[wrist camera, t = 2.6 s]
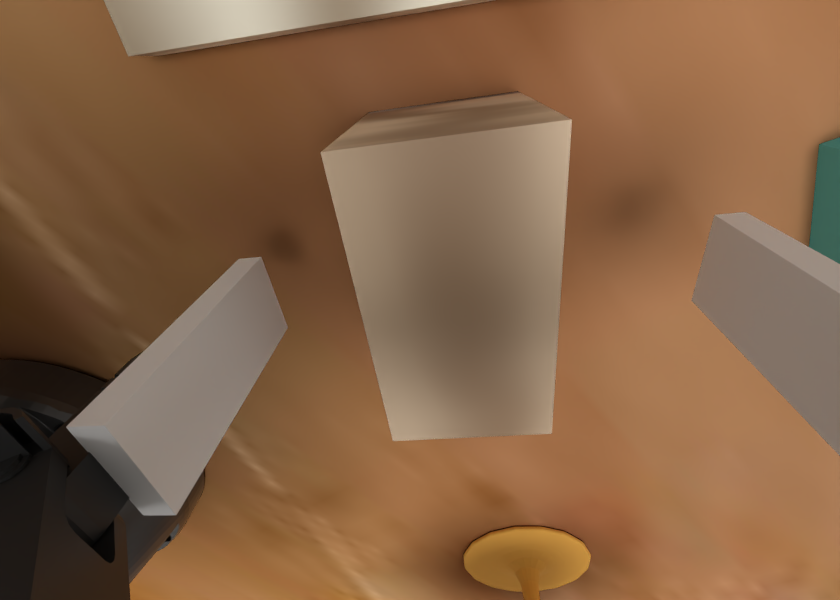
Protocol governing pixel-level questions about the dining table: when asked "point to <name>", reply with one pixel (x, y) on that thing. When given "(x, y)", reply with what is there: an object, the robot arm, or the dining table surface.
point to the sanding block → (457, 259)
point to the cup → (527, 559)
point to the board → (244, 19)
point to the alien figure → (827, 202)
